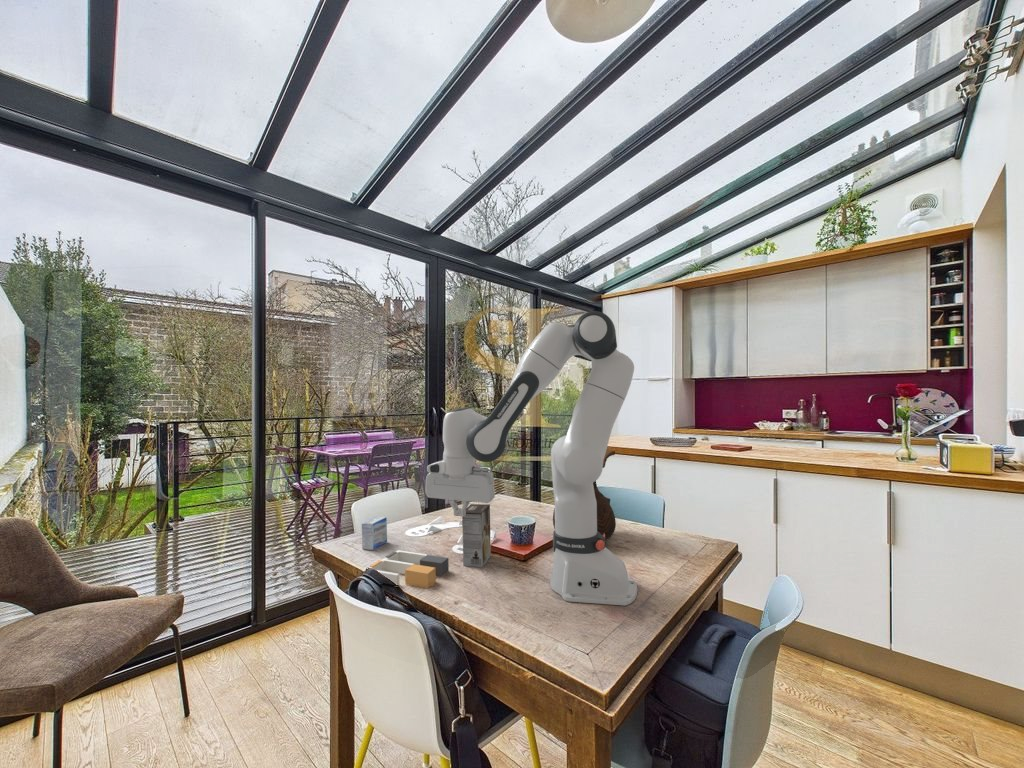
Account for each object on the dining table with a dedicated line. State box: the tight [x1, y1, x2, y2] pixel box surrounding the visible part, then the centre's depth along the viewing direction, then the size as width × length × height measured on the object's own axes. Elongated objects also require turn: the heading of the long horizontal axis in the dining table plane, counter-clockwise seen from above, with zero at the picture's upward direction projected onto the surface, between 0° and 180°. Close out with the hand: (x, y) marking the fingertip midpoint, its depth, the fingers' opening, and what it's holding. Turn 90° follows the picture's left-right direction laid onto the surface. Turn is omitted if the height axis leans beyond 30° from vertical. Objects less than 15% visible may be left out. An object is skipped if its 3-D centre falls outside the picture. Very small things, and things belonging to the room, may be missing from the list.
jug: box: [552, 448, 617, 542], centre depth 150 cm, size 22×22×30 cm
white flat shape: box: [404, 515, 497, 555], centre depth 157 cm, size 35×24×3 cm
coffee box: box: [461, 503, 492, 568], centre depth 134 cm, size 9×6×16 cm
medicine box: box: [361, 516, 388, 551], centre depth 147 cm, size 8×4×9 cm, turn 161°
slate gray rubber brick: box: [420, 554, 450, 578], centre depth 126 cm, size 7×4×4 cm, turn 69°
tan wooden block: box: [404, 564, 437, 589], centre depth 119 cm, size 7×4×4 cm, turn 69°
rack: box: [364, 549, 428, 586], centre depth 126 cm, size 10×15×3 cm
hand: (459, 515), depth 123 cm, fingers closed
